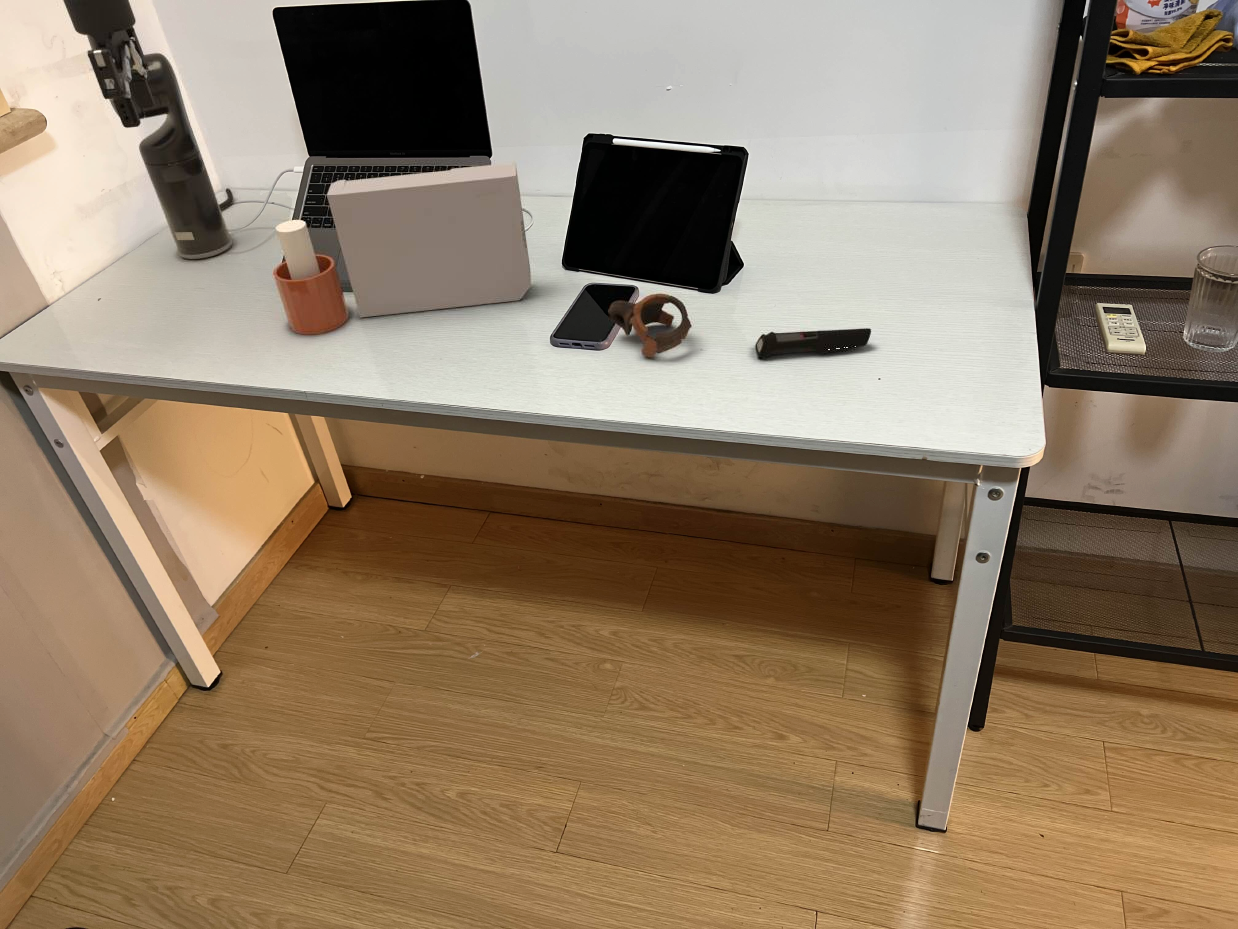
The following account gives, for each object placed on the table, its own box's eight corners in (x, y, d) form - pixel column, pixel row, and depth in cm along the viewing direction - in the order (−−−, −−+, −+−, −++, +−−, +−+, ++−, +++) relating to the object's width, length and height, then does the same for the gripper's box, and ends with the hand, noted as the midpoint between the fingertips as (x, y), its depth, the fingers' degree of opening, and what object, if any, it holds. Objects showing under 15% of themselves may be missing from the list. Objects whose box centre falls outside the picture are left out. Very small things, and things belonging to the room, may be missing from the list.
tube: (324, 324, 142) (297, 232, 133) (299, 323, 143) (270, 231, 133) (336, 310, 145) (310, 220, 136) (312, 309, 146) (284, 219, 137)
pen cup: (294, 310, 147) (277, 258, 142) (350, 303, 148) (336, 251, 143) (286, 338, 140) (269, 284, 135) (346, 330, 141) (331, 276, 136)
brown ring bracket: (691, 325, 136) (700, 295, 128) (676, 380, 132) (684, 352, 125) (613, 304, 136) (617, 272, 129) (596, 357, 133) (599, 328, 125)
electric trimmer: (871, 355, 126) (874, 335, 124) (758, 361, 126) (758, 341, 124) (865, 341, 129) (868, 321, 127) (754, 347, 129) (755, 327, 127)
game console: (363, 301, 148) (331, 180, 136) (532, 282, 149) (515, 161, 137) (359, 318, 144) (325, 195, 132) (533, 299, 145) (516, 175, 133)
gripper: (107, -2, 114) (156, 130, 124) (135, -25, 125) (178, 98, 135) (44, 4, 113) (98, 136, 123) (78, -20, 124) (125, 103, 134)
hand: (140, 116), depth 129 cm, fingers open, 8 cm apart
